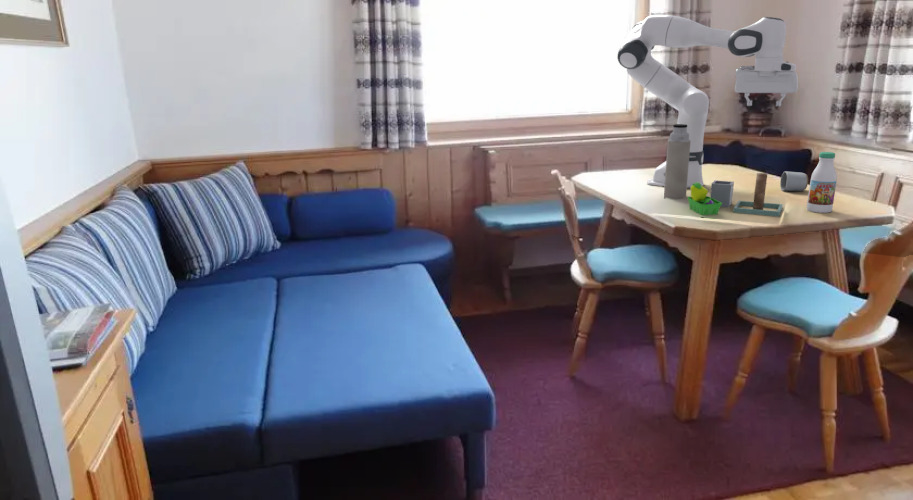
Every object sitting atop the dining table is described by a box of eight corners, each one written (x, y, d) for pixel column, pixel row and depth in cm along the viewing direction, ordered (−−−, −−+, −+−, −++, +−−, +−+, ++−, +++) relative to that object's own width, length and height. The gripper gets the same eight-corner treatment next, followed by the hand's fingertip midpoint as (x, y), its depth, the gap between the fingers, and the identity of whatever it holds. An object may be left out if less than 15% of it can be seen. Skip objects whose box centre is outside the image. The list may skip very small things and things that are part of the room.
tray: (732, 215, 214) (733, 207, 214) (738, 207, 224) (738, 200, 223) (778, 219, 207) (779, 211, 207) (781, 211, 217) (782, 204, 216)
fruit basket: (721, 217, 212) (725, 184, 208) (696, 219, 211) (699, 186, 208) (706, 209, 222) (709, 178, 219) (682, 211, 222) (684, 179, 218)
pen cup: (709, 208, 224) (711, 183, 221) (712, 204, 229) (714, 180, 226) (728, 210, 221) (731, 185, 218) (731, 206, 226) (733, 181, 223)
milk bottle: (801, 208, 220) (809, 151, 214) (822, 207, 221) (831, 150, 215) (815, 213, 213) (823, 154, 207) (837, 212, 213) (846, 153, 207)
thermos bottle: (663, 196, 244) (669, 123, 236) (685, 197, 242) (691, 123, 234) (663, 200, 237) (668, 125, 229) (685, 201, 235) (691, 125, 226)
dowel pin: (751, 212, 215) (756, 174, 211) (753, 210, 218) (757, 172, 214) (762, 212, 214) (766, 175, 210) (763, 210, 216) (767, 173, 212)
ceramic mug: (807, 192, 243) (810, 173, 241) (785, 192, 244) (787, 173, 242) (797, 187, 253) (800, 168, 251) (776, 187, 254) (778, 168, 252)
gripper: (735, 66, 224) (731, 106, 228) (799, 65, 214) (794, 107, 218) (737, 66, 229) (733, 104, 233) (801, 65, 219) (795, 105, 223)
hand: (763, 106), depth 226 cm, fingers open, 8 cm apart
